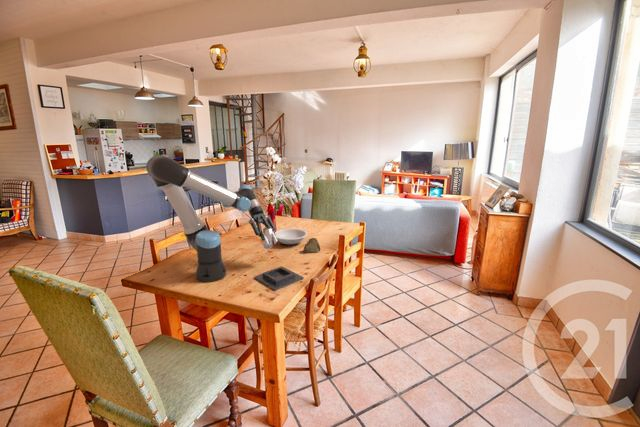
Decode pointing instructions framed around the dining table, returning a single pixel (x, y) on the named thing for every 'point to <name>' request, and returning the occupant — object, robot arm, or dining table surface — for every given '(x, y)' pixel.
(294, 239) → the soup bowl
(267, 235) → the steel roller
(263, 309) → the dining table surface
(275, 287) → the socket plate
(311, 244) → the rock
